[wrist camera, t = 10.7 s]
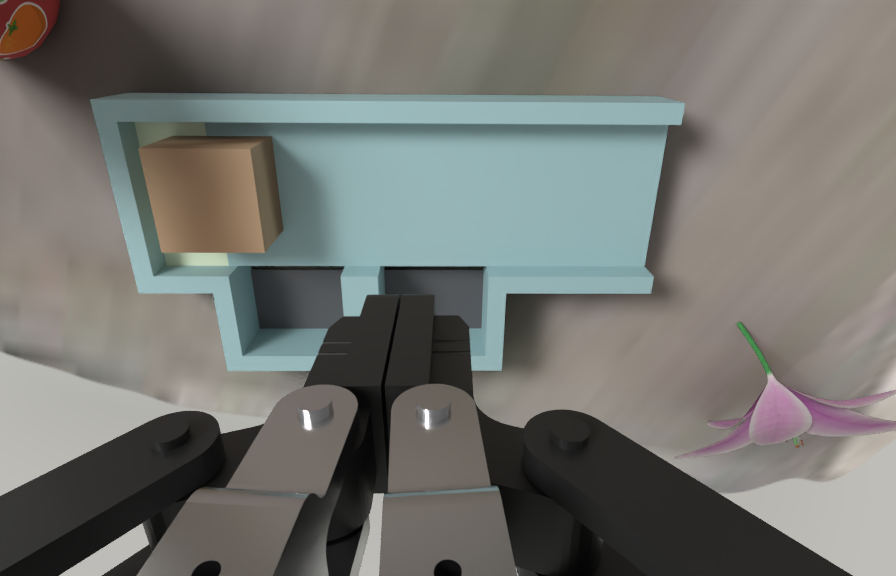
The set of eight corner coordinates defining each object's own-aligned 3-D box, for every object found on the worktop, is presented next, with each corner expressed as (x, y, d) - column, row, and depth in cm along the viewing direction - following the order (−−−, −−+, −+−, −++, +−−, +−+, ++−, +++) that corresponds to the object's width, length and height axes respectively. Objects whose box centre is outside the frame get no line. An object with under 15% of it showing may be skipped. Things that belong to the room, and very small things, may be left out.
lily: (616, 391, 38) (687, 531, 33) (710, 280, 30) (829, 443, 24) (746, 373, 42) (830, 494, 36) (862, 270, 34) (996, 408, 28)
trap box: (658, 96, 29) (685, 103, 26) (619, 340, 35) (637, 370, 32) (128, 92, 29) (89, 99, 25) (184, 340, 35) (158, 371, 32)
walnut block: (272, 136, 28) (250, 148, 24) (283, 230, 30) (264, 252, 27) (172, 135, 28) (137, 148, 24) (191, 229, 30) (161, 252, 26)
